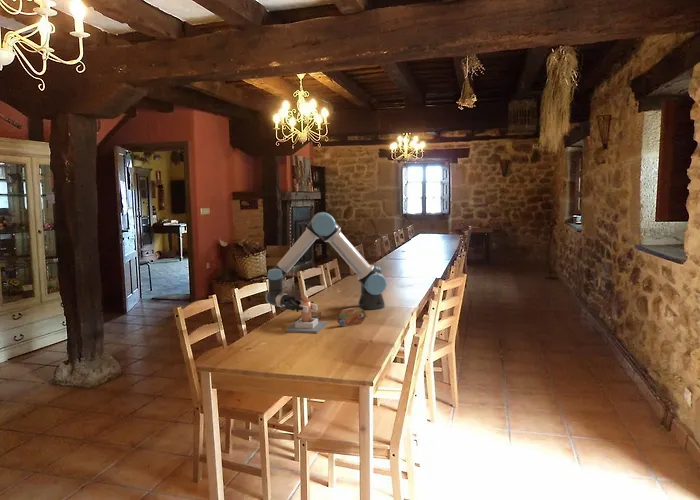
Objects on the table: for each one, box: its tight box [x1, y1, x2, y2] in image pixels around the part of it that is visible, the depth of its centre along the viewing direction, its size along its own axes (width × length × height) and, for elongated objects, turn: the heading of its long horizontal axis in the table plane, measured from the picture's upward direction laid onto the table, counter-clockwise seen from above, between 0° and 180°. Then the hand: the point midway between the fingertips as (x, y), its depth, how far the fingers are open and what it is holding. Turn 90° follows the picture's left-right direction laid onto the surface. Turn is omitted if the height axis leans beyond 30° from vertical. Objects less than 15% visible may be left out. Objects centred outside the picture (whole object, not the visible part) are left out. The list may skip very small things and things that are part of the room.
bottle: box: [300, 295, 312, 323], centre depth 249 cm, size 5×5×13 cm
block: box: [299, 311, 322, 320], centre depth 267 cm, size 9×9×2 cm
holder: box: [284, 317, 328, 334], centre depth 250 cm, size 16×18×4 cm
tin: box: [336, 307, 366, 328], centre depth 253 cm, size 15×3×8 cm, turn 117°
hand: (312, 308), depth 245 cm, fingers closed on bottle, 5 cm apart
